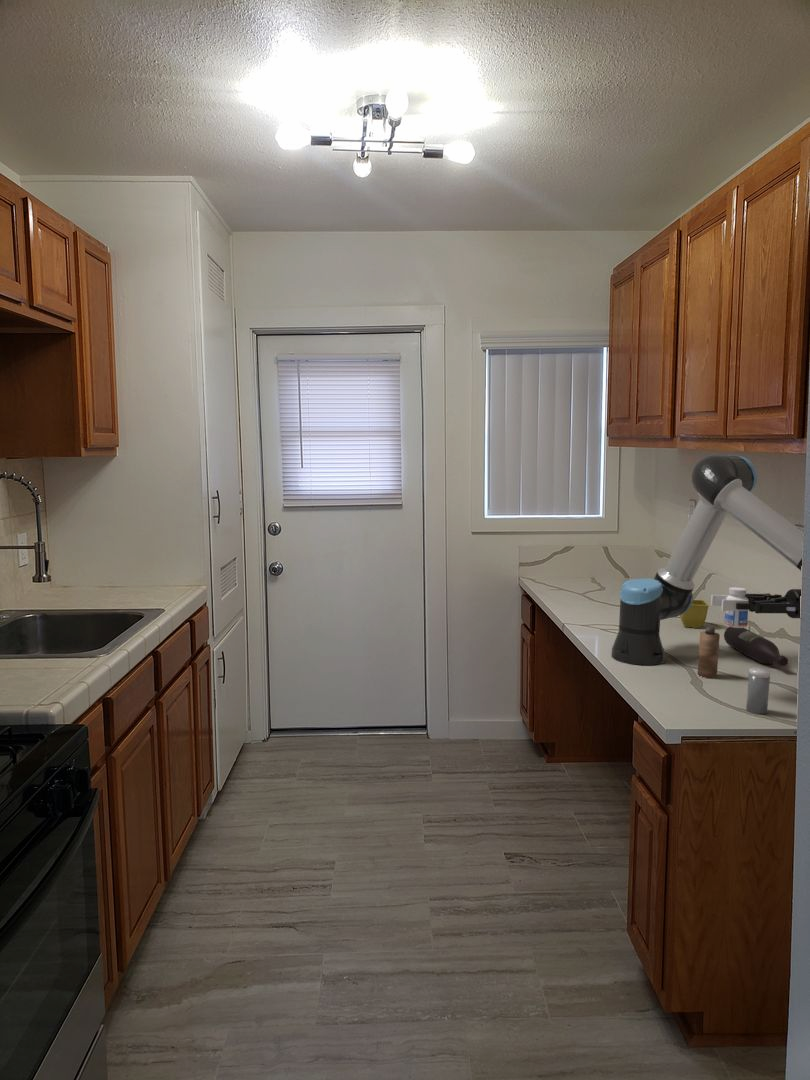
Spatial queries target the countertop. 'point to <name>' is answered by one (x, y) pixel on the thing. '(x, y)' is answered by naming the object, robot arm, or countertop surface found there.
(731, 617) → the pill bottle
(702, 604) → the flower pot
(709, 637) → the walnut pepper mill
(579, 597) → the countertop surface
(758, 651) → the wine bottle
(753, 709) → the charcoal salt shaker
